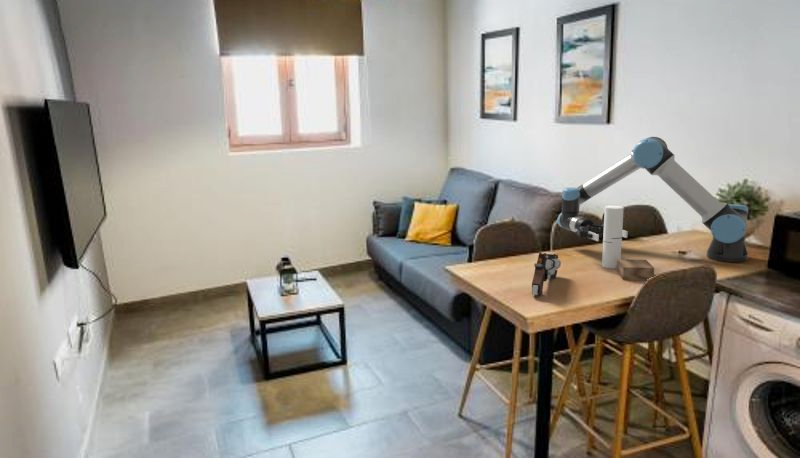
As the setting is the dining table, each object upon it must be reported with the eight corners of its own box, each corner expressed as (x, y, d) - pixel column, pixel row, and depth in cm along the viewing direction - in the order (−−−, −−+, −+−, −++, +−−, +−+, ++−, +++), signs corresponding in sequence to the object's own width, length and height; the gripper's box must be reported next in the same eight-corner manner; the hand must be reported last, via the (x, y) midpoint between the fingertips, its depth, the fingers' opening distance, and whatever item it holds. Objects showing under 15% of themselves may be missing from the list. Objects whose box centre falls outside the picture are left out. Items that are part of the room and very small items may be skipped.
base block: (645, 271, 220) (646, 259, 219) (653, 280, 209) (654, 267, 208) (616, 271, 222) (617, 259, 221) (622, 279, 211) (623, 267, 210)
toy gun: (558, 291, 218) (561, 254, 218) (541, 295, 193) (544, 253, 193) (546, 290, 220) (550, 252, 220) (528, 294, 195) (531, 252, 196)
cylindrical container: (621, 268, 225) (625, 208, 219) (603, 268, 226) (606, 208, 221) (618, 263, 232) (621, 205, 226) (600, 263, 233) (603, 205, 228)
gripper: (605, 231, 250) (637, 242, 230) (557, 237, 243) (585, 248, 223) (606, 215, 248) (638, 224, 228) (557, 220, 241) (586, 230, 222)
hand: (612, 236), depth 226 cm, fingers open, 13 cm apart
